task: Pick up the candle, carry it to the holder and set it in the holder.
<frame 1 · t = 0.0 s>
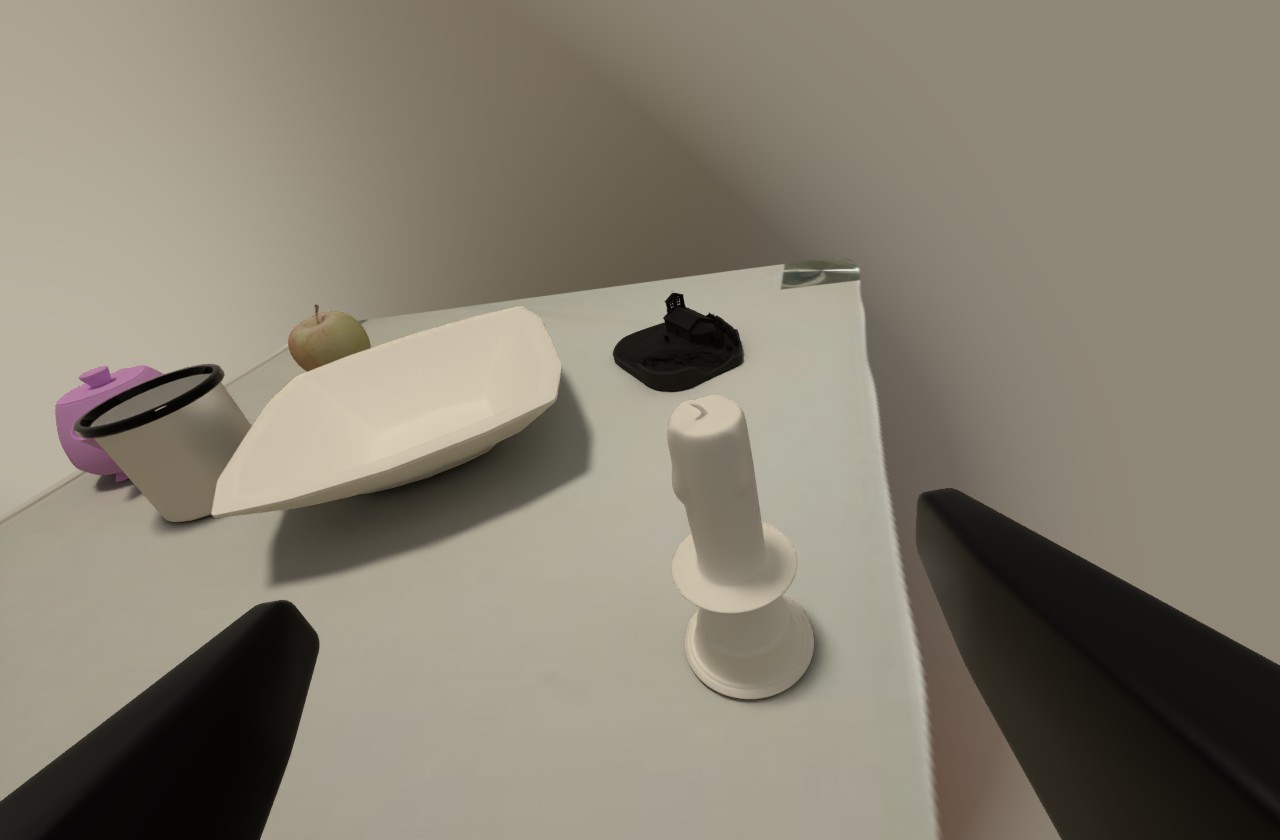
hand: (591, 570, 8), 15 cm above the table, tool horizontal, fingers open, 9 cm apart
fruit: (347, 374, 63), on the table
black low lumpy piece: (680, 354, 49), on the table
teapot: (159, 460, 54), on the table
candle: (748, 643, 24), on the table
bowl: (435, 449, 44), on the table
mug: (225, 484, 47), on the table
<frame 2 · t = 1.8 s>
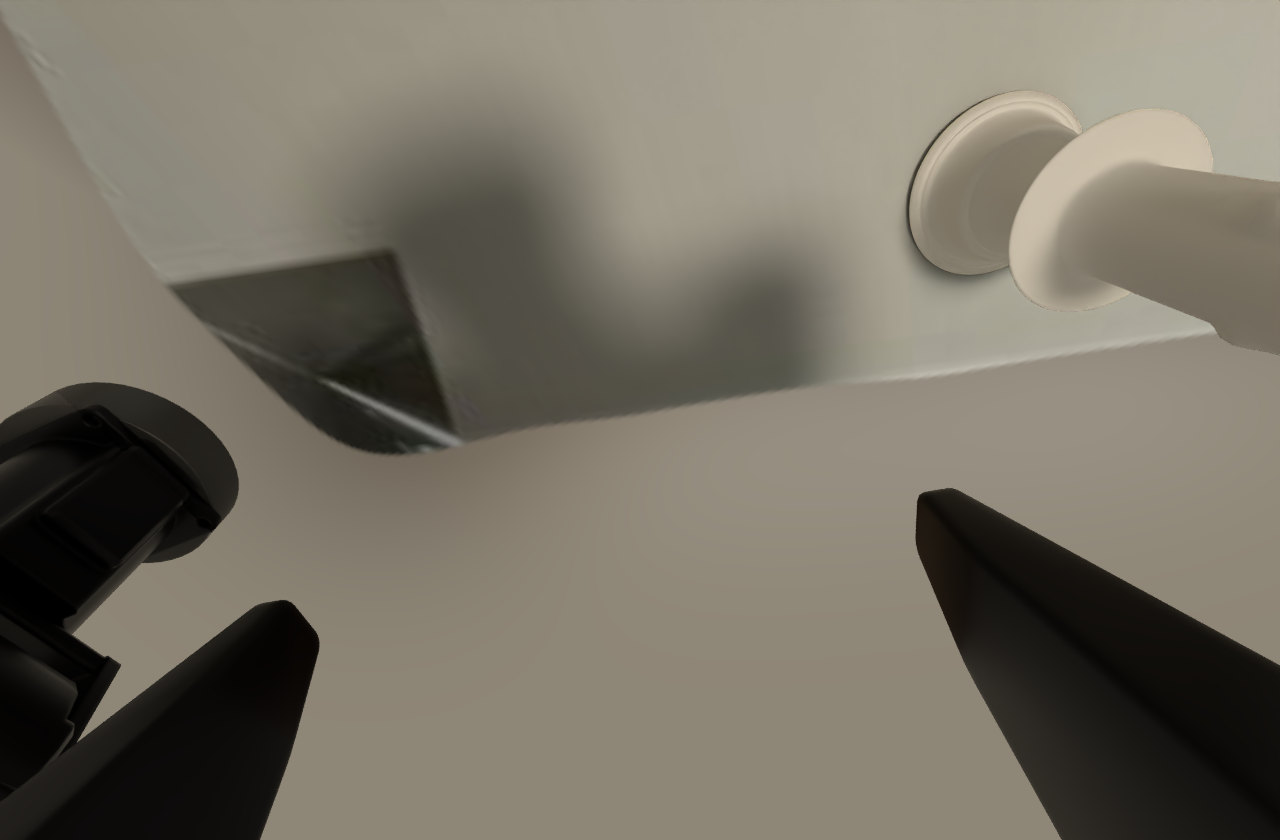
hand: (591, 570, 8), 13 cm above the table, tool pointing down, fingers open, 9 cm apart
candle: (988, 187, 18), on the table
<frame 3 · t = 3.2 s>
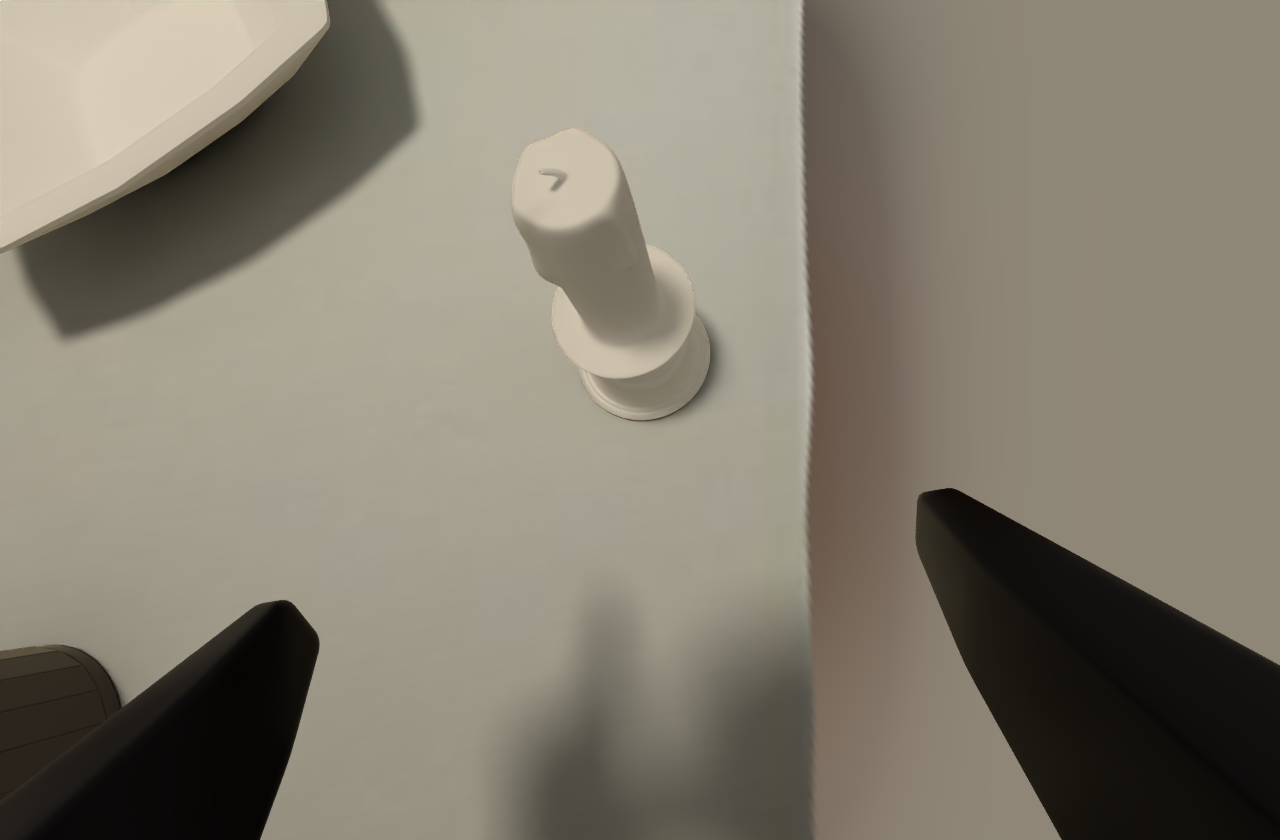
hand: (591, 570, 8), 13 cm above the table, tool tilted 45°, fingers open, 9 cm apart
candle: (644, 357, 23), on the table
holder: (33, 753, 23), on the table
bowl: (180, 94, 30), on the table
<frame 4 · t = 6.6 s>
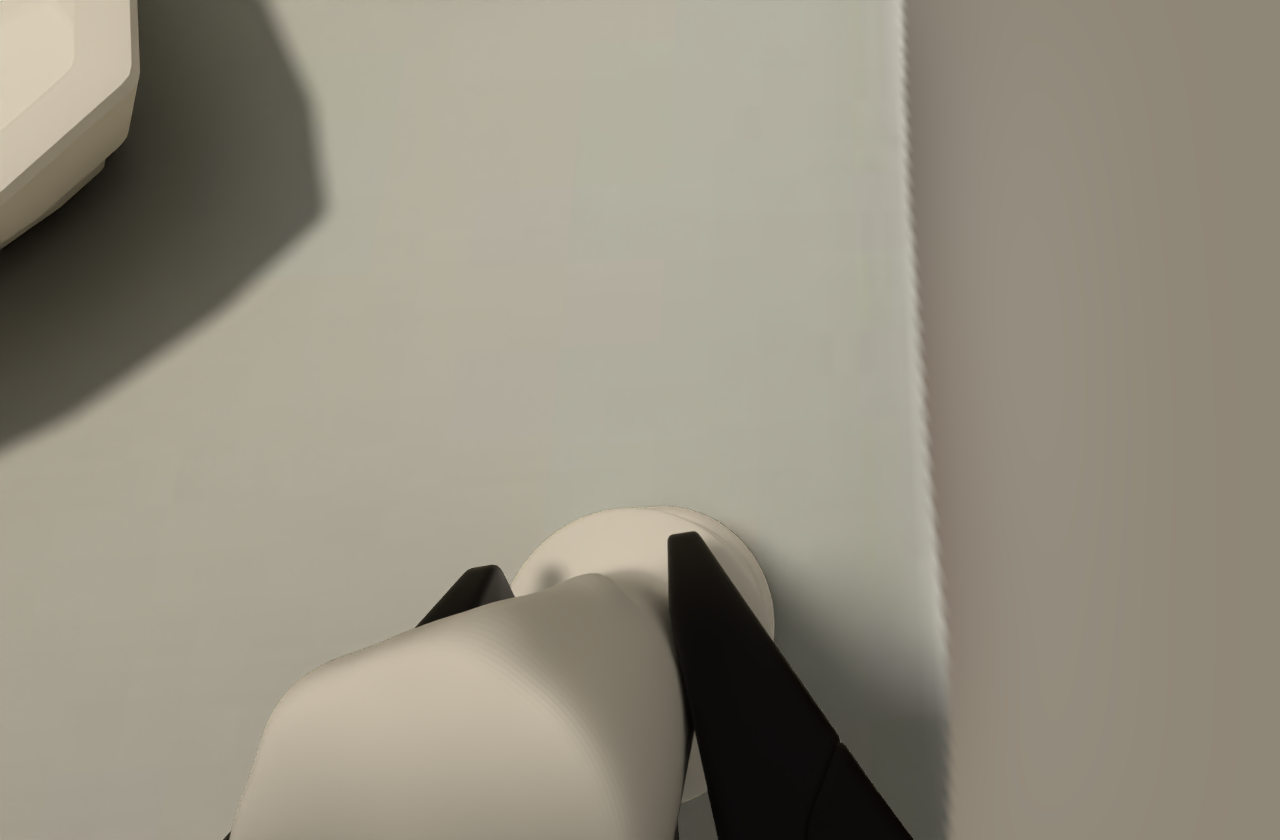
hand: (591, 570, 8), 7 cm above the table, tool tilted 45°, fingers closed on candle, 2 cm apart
candle: (663, 614, 14), on the table, touching gripper
bowl: (1, 156, 21), on the table
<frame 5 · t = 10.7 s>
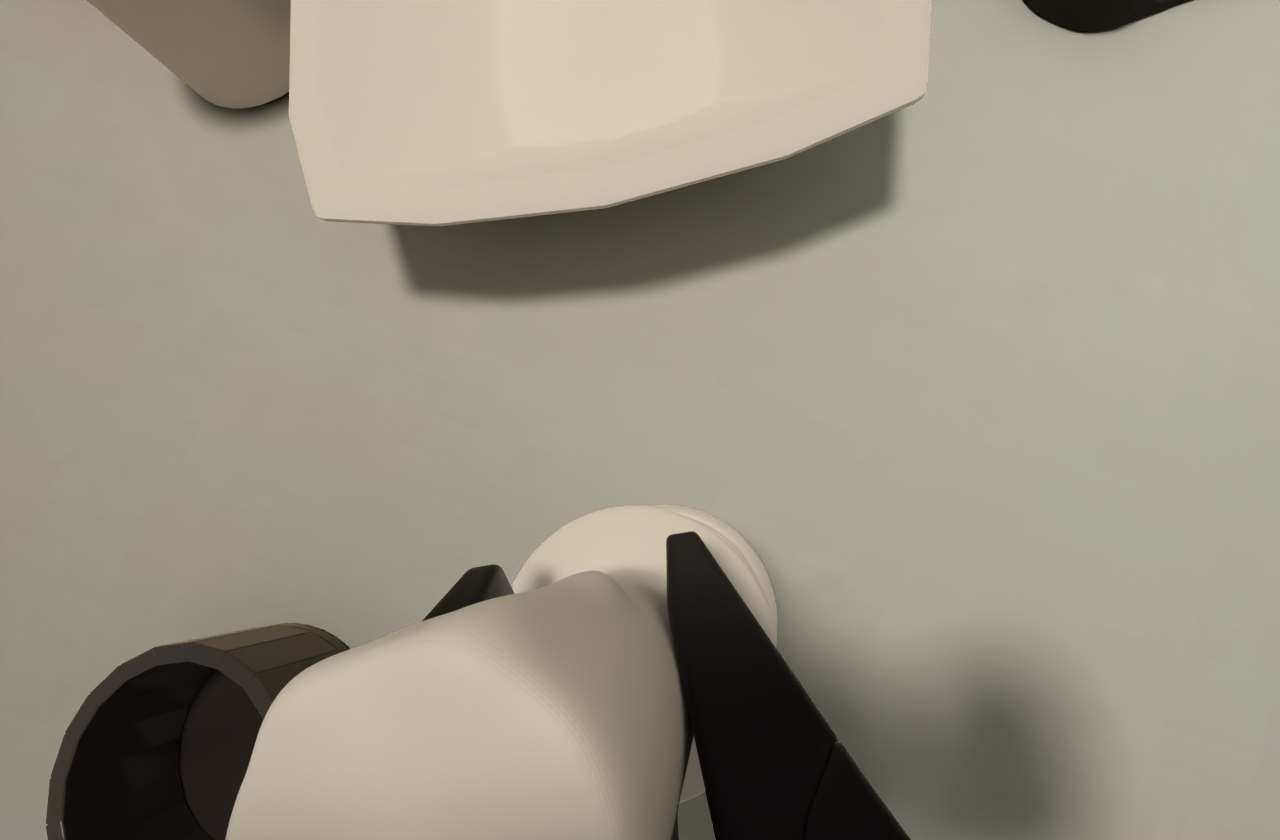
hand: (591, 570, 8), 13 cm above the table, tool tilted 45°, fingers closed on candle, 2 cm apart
candle: (666, 613, 14), point 6 cm above the table, touching gripper
holder: (278, 738, 21), on the table
bowl: (606, 53, 26), on the table
mug: (260, 27, 29), on the table
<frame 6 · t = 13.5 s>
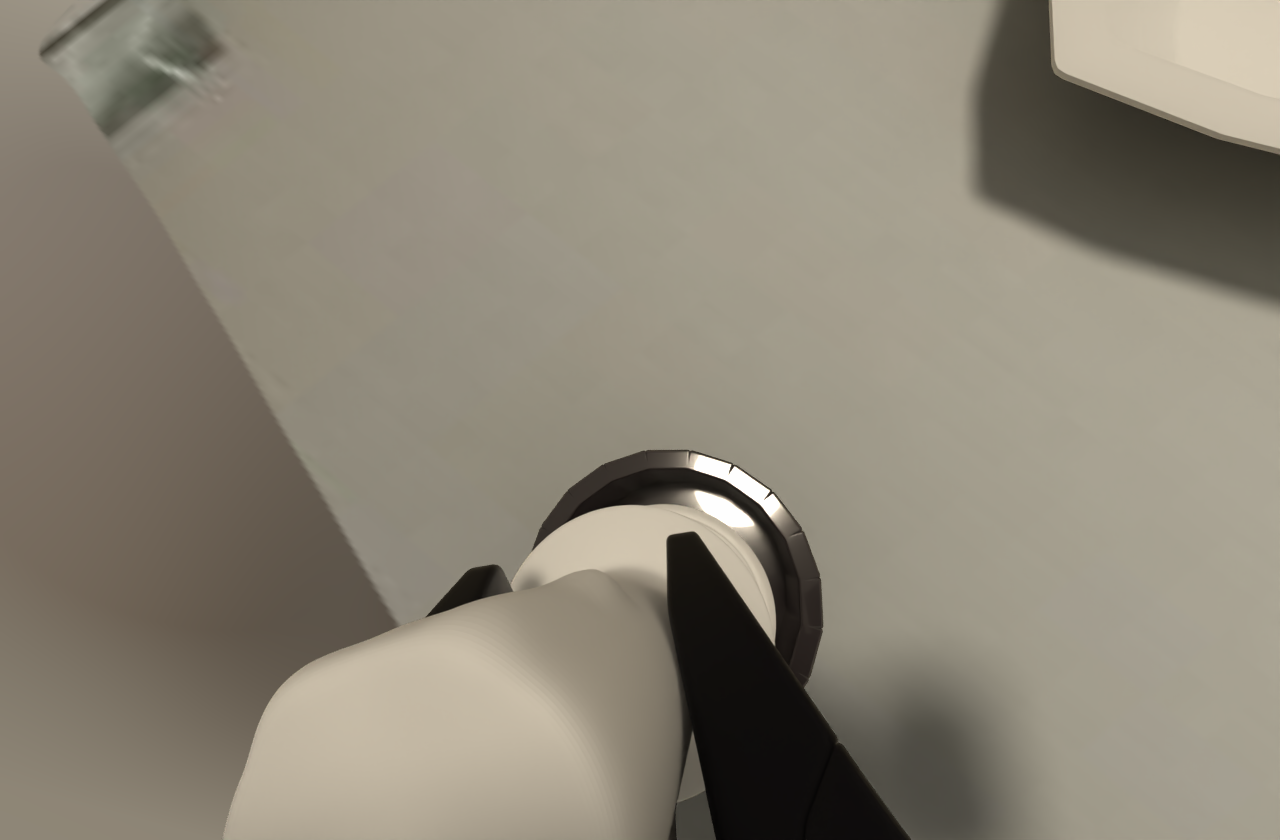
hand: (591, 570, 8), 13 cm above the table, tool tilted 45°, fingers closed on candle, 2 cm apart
candle: (665, 612, 14), point 6 cm above the table, touching gripper
holder: (679, 585, 20), on the table
when the fingers open (7 cm above the table, at t = 15.3 s): candle stays where it is, resting on holder.
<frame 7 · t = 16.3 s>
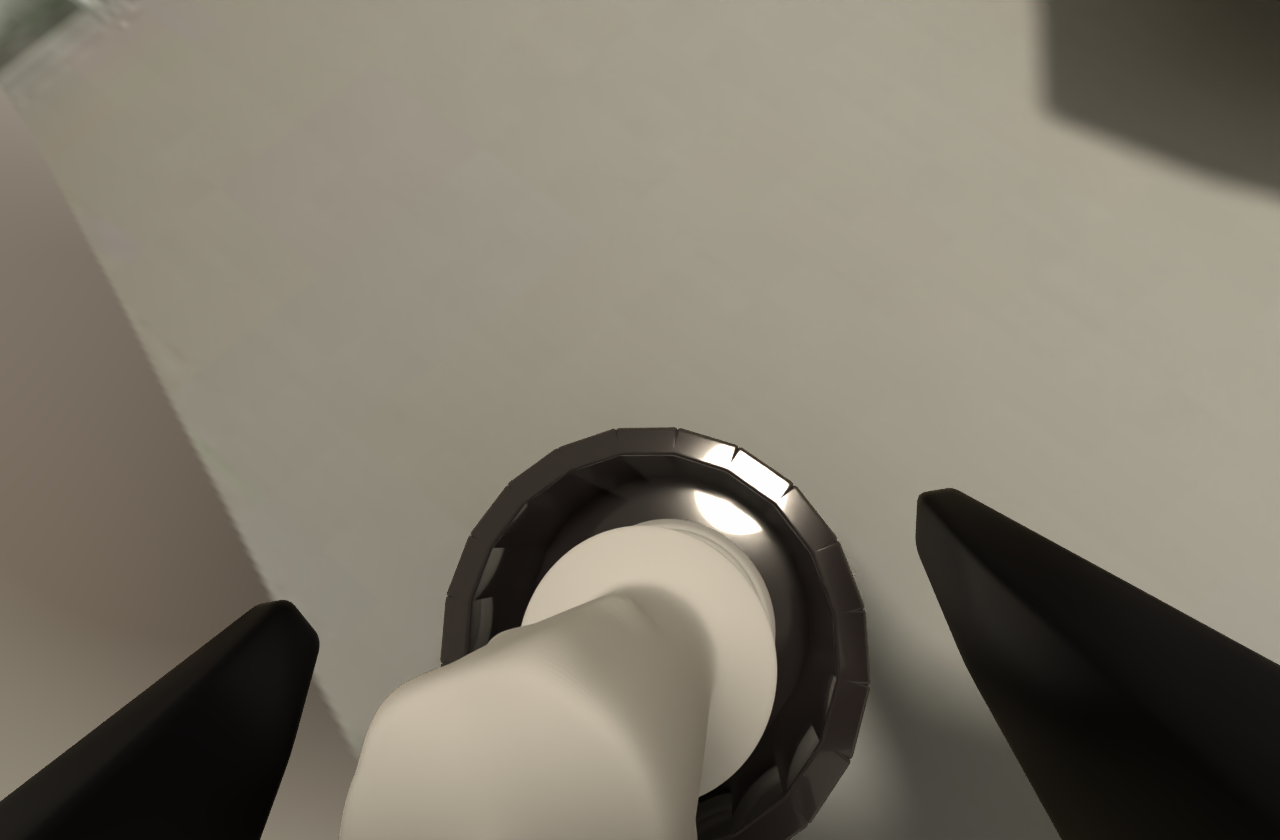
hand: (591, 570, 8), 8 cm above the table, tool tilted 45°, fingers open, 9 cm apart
candle: (670, 622, 15), resting on holder
holder: (667, 611, 15), on the table
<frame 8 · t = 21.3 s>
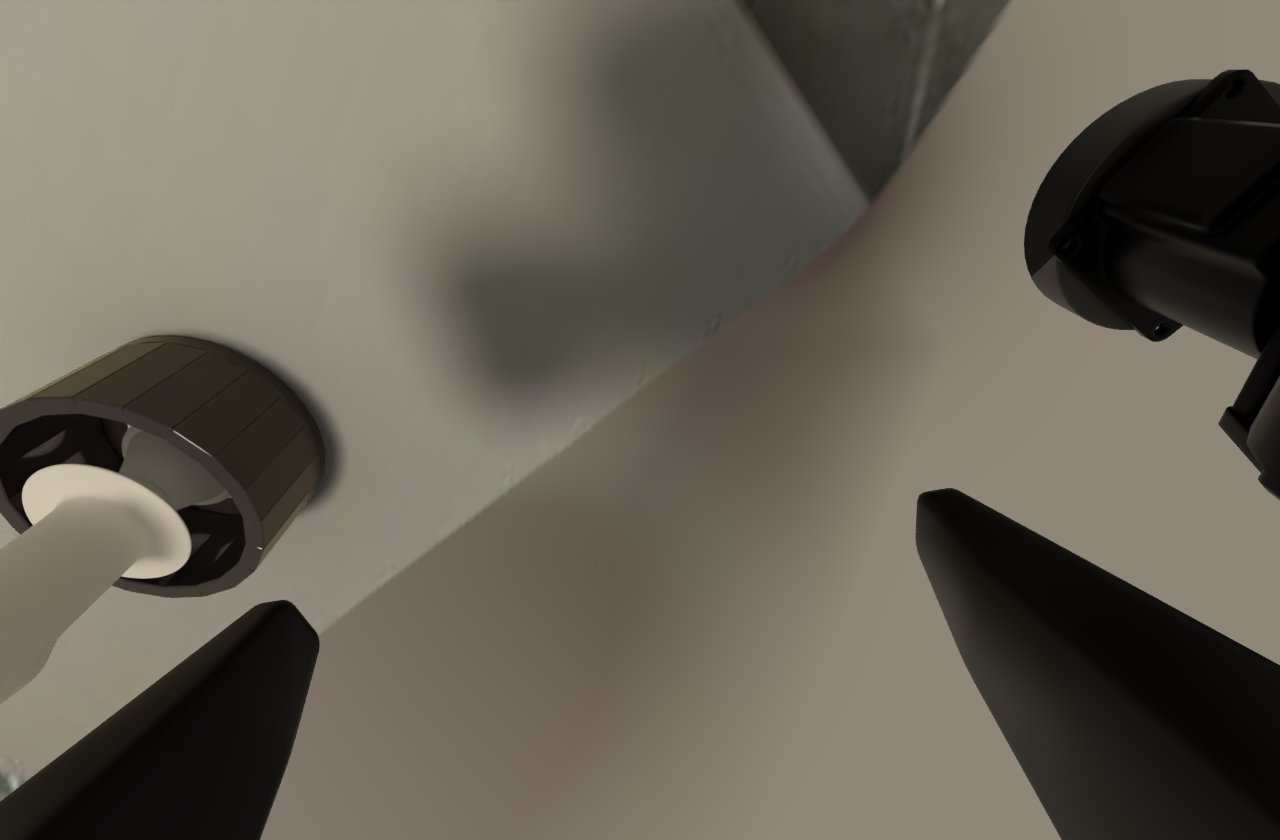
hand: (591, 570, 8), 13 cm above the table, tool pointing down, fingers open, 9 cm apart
candle: (211, 437, 22), resting on holder
holder: (214, 434, 22), on the table
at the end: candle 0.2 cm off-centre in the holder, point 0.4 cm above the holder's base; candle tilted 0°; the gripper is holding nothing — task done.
